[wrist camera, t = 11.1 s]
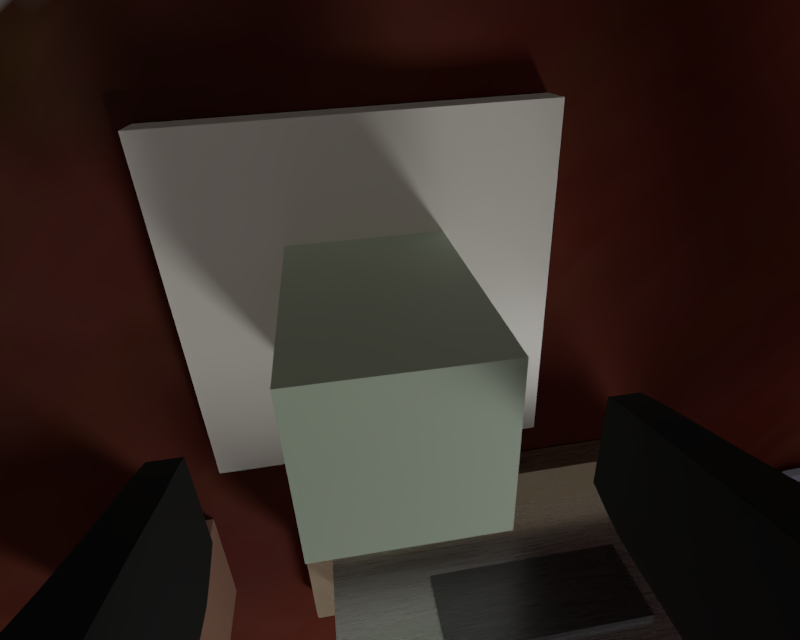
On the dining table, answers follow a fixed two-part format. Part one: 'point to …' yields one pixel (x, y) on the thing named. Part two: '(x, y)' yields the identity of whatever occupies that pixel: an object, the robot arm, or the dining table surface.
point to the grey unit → (505, 572)
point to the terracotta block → (218, 593)
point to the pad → (336, 225)
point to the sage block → (394, 396)
